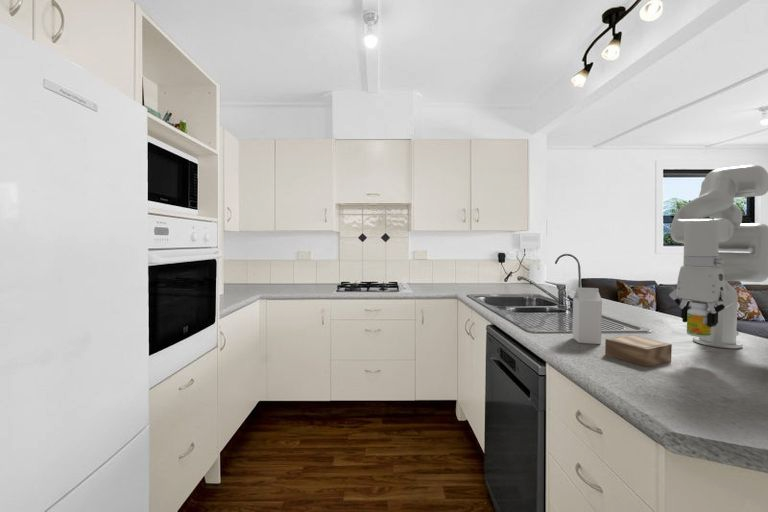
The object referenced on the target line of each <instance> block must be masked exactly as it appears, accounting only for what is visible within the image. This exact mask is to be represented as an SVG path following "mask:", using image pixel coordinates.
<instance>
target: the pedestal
mask: <svg viewBox="0 0 768 512" xmlns="http://www.w3.org/2000/svg"><path fill="white" fill-rule="evenodd" d="M672 345H673V344H671V343H667V342H663V341H658V340H654V339H650V338H645V337H641V336H636V335H633V334H632V335H631V334H626V335H621V336H614V337H610V338H605V346H604V349H605V352H604V355H605V356H608V357H611V358H615V359H619V360H621V361H624V362H629V363H632V364H636V365H638V366H641V367H645V368H646V367H651V366H652V367H653V366H657V365H660V364H664V363H665V364H666V363H669V362H672V349H673V348H672V347H673V346H672Z"/></svg>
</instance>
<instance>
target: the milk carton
mask: <svg viewBox="0 0 768 512" xmlns="http://www.w3.org/2000/svg"><path fill="white" fill-rule="evenodd" d="M599 290H600V289H599V288H598V287H597V288H596V287H576V290H575V293H574V295H573V297H572V298H573V299H572V300H573V301H572V335H571V336H572V339H573V340H574V341H576V342H577V343H578V344H594V345H595V344H596V345H601V344H602V322H603V321H602V318H603V317H602V315H603V314H602V313H603V299H602V297H601V295H600V292H599Z"/></svg>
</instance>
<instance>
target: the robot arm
mask: <svg viewBox="0 0 768 512" xmlns="http://www.w3.org/2000/svg"><path fill="white" fill-rule="evenodd" d="M700 188H701V189H700V191H699V195H698V197H696V198H694V199H692V200H690V201H689V202H686V204H684V205H682V206H681V207H680V208H678V209H677V211H676V212H675V214H674V216H673V219H672V222H671V226H670V230H669V233H670V238H671V239H672V241H673V242H675V243H679V244H683V264H682V265H681V266H680V269H679V273H678V277H677V282H676V283H677V284H676V288H675V289H673V291H671V292H670V293H669V294H668V296H669V297H670V298H671V299H672V300H673V301H674V302H675V303H676V304H677V306H679V308H680V309H681V313H680V314H681V319H682V323H687V311H688V309H691V307H690V303H691V301H699V302H707V304H708V308H707V310H709V311H710V313H708V324H707V326H708V327H711V336H710V337H706V338H703V337H695V336H692V340H693V342H694V343H697V344H701V345H704V346H708V347H714V348H721V349H741V348H743V343H742V342H740V341H737V337H738V336H739V335H740V333H739V331H737V325H738V324H737V323H738V299H739V297H738V292H737V291H736V289H735V288H734V287H733V286H732V285H731V284H730V283H729V282H743V283H744V282H745V283H762V282H765V281H767V280H768V225H767V224H765V223H761V222H760V223H759V222H756V223H754V222H750V223H748V222H747V223H742V222H743V210H741V208H740V207H738V205H736V204H735V203H734V200H735V198H751V197H754V198H755V197H761V196H765V195H766V194H767V193H768V171H767V170H766V169H765V167H763V166H762V165H759V164H758V165H757V164H747V165H740V166H730V167H722V168H717V169H713V170H711V171H710V172H708V174H706V175H705V177H704V179H703V181H702V182H701V187H700ZM708 217H709V218H708Z"/></svg>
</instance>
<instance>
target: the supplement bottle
mask: <svg viewBox="0 0 768 512" xmlns="http://www.w3.org/2000/svg"><path fill="white" fill-rule="evenodd" d="M689 307H690V308H691V309H688V311H687V322H686V334H687V335H688V336H690V337H694V336H695V337H703V338H706V337H710V336H711V327H708V326H707V324H708V313H710V311H709V310H707V308H708V304H707V302H699V301H691V303H690V305H689Z"/></svg>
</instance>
